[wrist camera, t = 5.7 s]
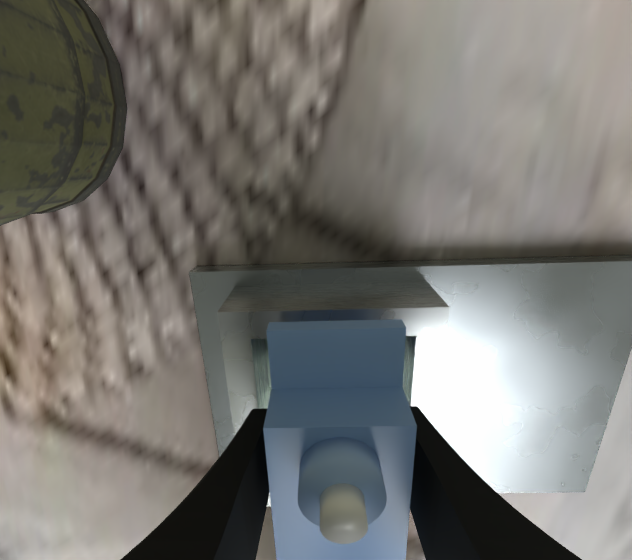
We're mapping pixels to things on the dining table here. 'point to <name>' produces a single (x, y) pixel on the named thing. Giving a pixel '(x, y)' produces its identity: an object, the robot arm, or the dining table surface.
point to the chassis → (448, 350)
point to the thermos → (55, 106)
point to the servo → (339, 440)
